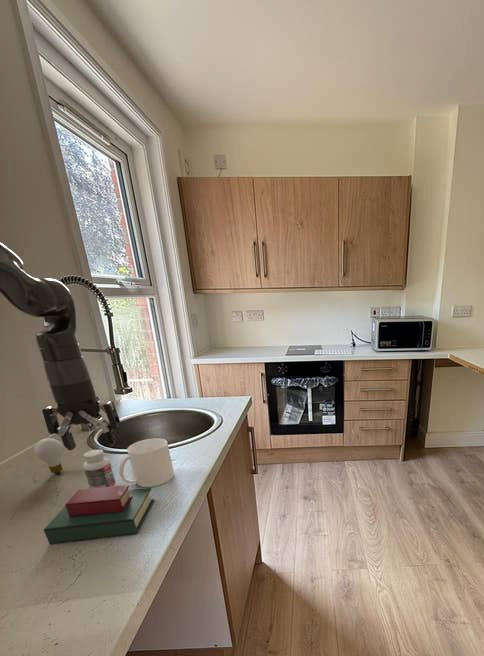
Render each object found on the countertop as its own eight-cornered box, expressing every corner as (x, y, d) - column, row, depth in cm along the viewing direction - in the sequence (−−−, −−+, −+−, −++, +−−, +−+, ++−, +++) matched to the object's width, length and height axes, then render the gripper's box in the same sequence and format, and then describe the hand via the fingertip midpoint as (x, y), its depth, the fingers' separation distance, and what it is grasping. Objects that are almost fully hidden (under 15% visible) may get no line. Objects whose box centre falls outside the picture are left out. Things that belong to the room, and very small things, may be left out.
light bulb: (41, 480, 90) (27, 445, 86) (47, 470, 95) (34, 437, 91) (68, 475, 92) (56, 441, 88) (72, 466, 97) (61, 433, 93)
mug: (168, 466, 95) (161, 435, 92) (179, 479, 89) (171, 446, 85) (120, 481, 89) (110, 448, 85) (127, 496, 82) (117, 461, 78)
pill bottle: (115, 491, 84) (104, 455, 80) (89, 496, 82) (77, 460, 78) (117, 480, 89) (107, 446, 85) (93, 486, 87) (81, 450, 83)
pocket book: (69, 517, 69) (64, 504, 68) (82, 501, 74) (78, 489, 73) (123, 511, 70) (119, 499, 69) (132, 496, 75) (129, 484, 74)
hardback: (49, 544, 67) (43, 529, 66) (79, 508, 78) (74, 495, 77) (137, 534, 69) (133, 519, 68) (154, 500, 80) (151, 487, 79)
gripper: (112, 373, 79) (129, 437, 86) (43, 377, 77) (67, 443, 84) (97, 381, 72) (118, 451, 79) (22, 386, 71) (49, 457, 77)
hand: (91, 447), depth 81 cm, fingers open, 8 cm apart
